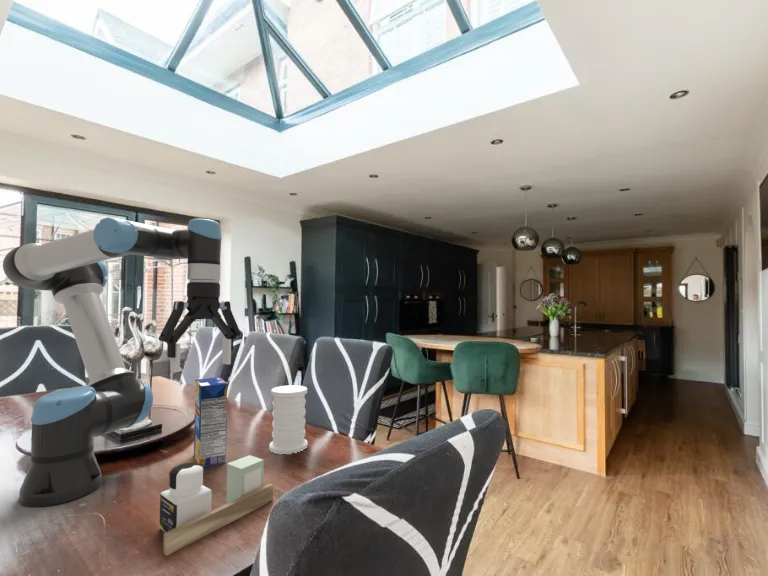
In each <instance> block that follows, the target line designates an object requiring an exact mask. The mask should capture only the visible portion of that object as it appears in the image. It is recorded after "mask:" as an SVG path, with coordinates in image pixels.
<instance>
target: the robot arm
mask: <svg viewBox="0 0 768 576" xmlns="http://www.w3.org/2000/svg"><path fill="white" fill-rule="evenodd" d="M221 230H222V229H221V223H219V222H218V221H216V220H213V219H208V218H193V219H190V220H189V221H188V226H187V228H185V229H171V228H166V227H162V226H161V227H160V226H156V225H155V226H154V225H152V224H146V223H141V222H137V221H132V220H127V219H124V218H115V217H104V218H102V219H100V220H99V222H98V223H96V224H95V227H94V228H93V229H90V230H87V231H84V232H80V233H77V234H74V235H69V236H65V237H63V238H59V239H55V240H52V241H49V242H45V243H37V242H34V243H33V242H31V243H26V244H23V245H19V246H16V247H15V248H13V249H11V250H10V251H9V252H7V253H6V255H5V256H4V259H3V261H2V269H3V272H4V274H5V276H6V278H7V279H9V281H10V282H12V283H13V284H15V285H16V286H19V287H20V288H24V289H27V290H32V291H33V290H34V291H50V292H51V293H52V297H53V299H54V300H55V302H56V303H59V304H62V305H63V307H64V310H65V313H66V317H67V319H68V322H69V325H70V327H71V328H70V329H71V331H72V334H73V336H74V339H75V342H76V345H77V348H78V351H79V354H80V357H81V360H82V363H83V366H84V369H85V372H86V374H87V378H88V380H89V382H88V384H87V385H82V386H81V385H80V386H79V385H78V386H73V387H67V388H62V389H58V390H55V391H51V392H49V393H46V394H44V395H42V396H40V397H39V398H38V399H37V400H36V401H35V402H34V404H33V405H32V406H33V407H32V413H31V418H30V421H31V422H30V423H31V446H30V465H29V468H28V469H27V472H26V475H25V476H24V479H23V482H22V484H21V487H20V489H19V497H18V499H19V500H18V502H19V504H21V505H23V506H25V507H31V508H32V507H33V508H34V507H48V506H53V505H59V504H63V503H66V502H71V501H73V500H77V499H79V498H82V497H84V496H86V495H89V494H91V493H92V492H94V491H95V490H96V489H98V488H99V487H100V486H101V485H102V471H101V469H100V466H99V463H98V461H97V457H96V456H95V452H94V447H95V446H94V443H95V441H94V440H95V438H97V437H99V436H103V435H106V434H110V433H113V432H115V431H118V430H122V429H127V428H131V427H132V426H134V425H137V424H139V423H141V422H144V420H145V419H146V418H147V417H148V416H149V415H150V413H151V410H152V407H153V405H154V404H153V403H154V393H153V391H152V390H153V389H152V388H151V386H150V384H148V382H145V381H144V380H138V379H137V377H136V373H135V371H133V370H129V369H127V367H126V366H125V362H124V360H123V357H122V353H121V351H120V349H119V345H118V343H117V340H116V338H115V334H114V332H113V330H112V327H111V324H110V320H109V318H108V316H107V315H108V314H107V311H106V310H105V308H104V304H103V301H102V299H101V295H102V293H103V292H104V287H105V286H106V284H107V281H108V278H107V276H108V269H107V267H106V264H105V261H108V260H112V259H115V258H121V257H126V256H131V255H135V256H144V257H151V258H154V259H156V260H162V261H171V260H183V259H184V260H185V259H186V260H187V277H186V279H187V281H189V282H188V283H186V299H187V300H186V301H183V300H175V301H174V302H173V307H172V311H171V314H169V317H168V319H167V321H166V323H165V325H164V327H163V329H162V331H161V333H160V334H159V337H158V340H159V342H163V343H166V345H167V349H166V350H167V351H166V356H167V358H169V359H170V367H169V368H170V369H169V370H170V372H174V373H179V372H180V371H181V343H180V342H179V340H180V339H181V338H182V337H183V336H184V334H185V333H186V331H187V330H188V329H189V328H190V326H191V325H192V324H193V323H194V322H195V321H196V320H211V321H212V322H213V323H214V325H215V326H216V327H217V328H218V329H219V331H220V332H221V334H222V335H223V336H224V337H225V338H222V342H221V343H222V344H221V347H222V349H221V350H222V351H221V364H222V365H231V364H232V352H233V351H234V340H235V339H237V337H239V336H241V331H240V328H239V325H238V323H237V322H236V321H237V320H236V319H235V316H234V314H233V312H232V309H231V302H230V300H229V301H228V300H226V301H225V300H222V301H220V300H219V299H220V296H221V284H220V283H219V281H221V246H222V231H221ZM219 309H220V310H221V313H220V312H219ZM185 310H187V313H186V314H185V315H184V316H183V319H181V317H182V315H183V313H184V311H185ZM221 314H222V315H221ZM222 316H223V318H224V320H223V318H222ZM180 319H181V321H180ZM179 321H180V322H179ZM178 323H179V324H178ZM178 342H179V343H178Z"/></svg>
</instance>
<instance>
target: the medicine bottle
mask: <svg viewBox="0 0 768 576" xmlns="http://www.w3.org/2000/svg"><path fill="white" fill-rule="evenodd" d="M203 483H204V467H203V466H202V465H201V464H199V463H197V462H193V461H192V462H191V461H190V462H184V463H181V464H178V465H176V466H174V467H173V468H172V469H171V470H170V471H169V484H168V485H169V489H166V490H164V491H161V492H160V494H159V495H160V497H159V499H160V500H159V529H161V530H162V531H163V532H164V533H166V532H168V531H171V530H173V529H175V528H177V527H179V526H181V525H183V524H185V523H187V522H189V521H192V520H194V519H196V518H198V517H200V516H202V515H204V514H206V513H208V512H210V511H212V498H213V497H212V495H213V494H212V489H211V488H209V487H206V486H205V485H204V484H203Z"/></svg>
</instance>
